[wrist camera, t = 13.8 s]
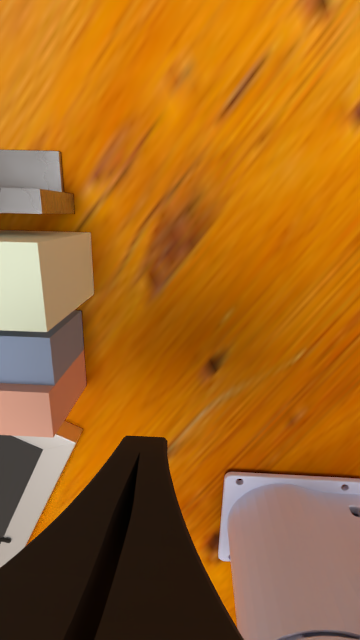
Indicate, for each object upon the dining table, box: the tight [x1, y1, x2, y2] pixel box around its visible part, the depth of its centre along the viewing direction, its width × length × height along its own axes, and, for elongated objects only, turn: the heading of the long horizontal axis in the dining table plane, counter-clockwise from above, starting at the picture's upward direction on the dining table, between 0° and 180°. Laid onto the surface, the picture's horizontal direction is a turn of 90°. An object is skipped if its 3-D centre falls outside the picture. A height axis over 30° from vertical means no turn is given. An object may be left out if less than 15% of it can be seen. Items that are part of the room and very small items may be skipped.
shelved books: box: [0, 310, 86, 438], centre depth 18 cm, size 6×5×5 cm
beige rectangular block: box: [0, 230, 94, 332], centre depth 16 cm, size 6×4×6 cm, turn 89°
